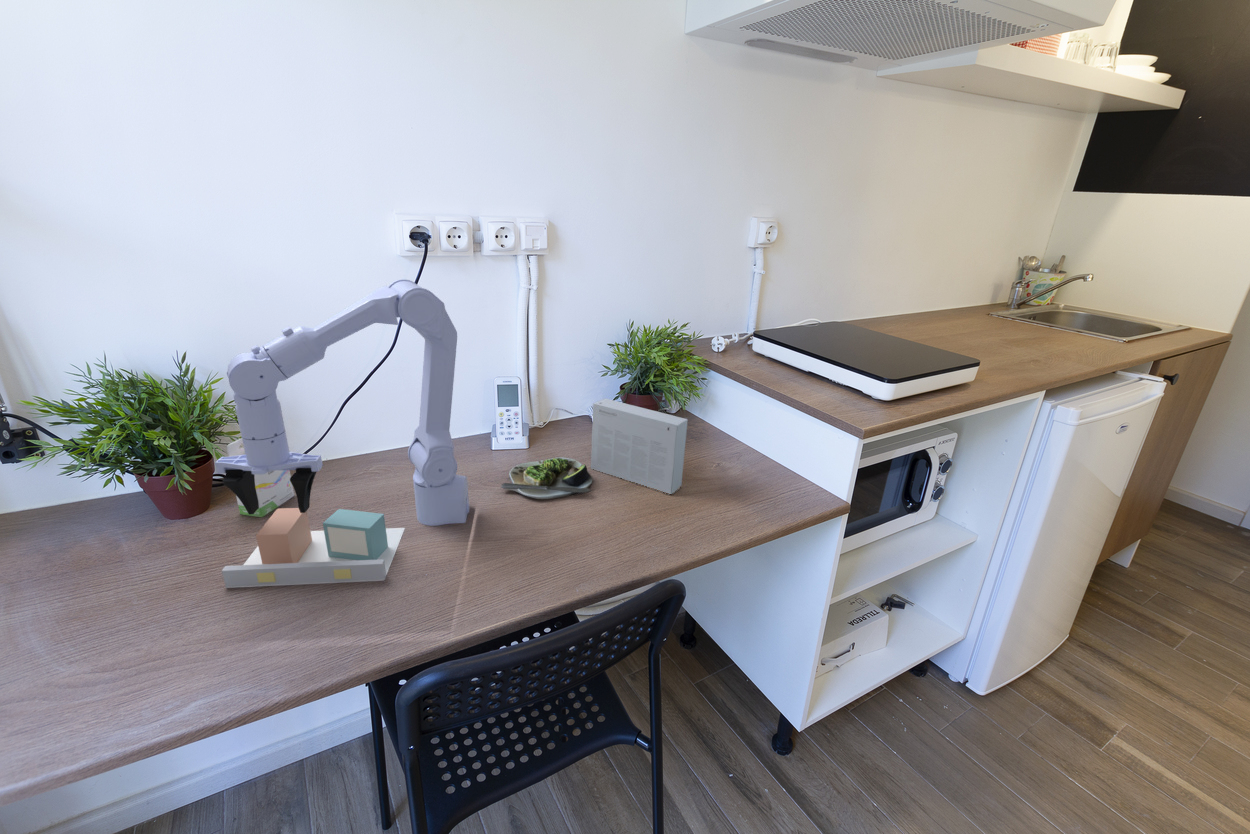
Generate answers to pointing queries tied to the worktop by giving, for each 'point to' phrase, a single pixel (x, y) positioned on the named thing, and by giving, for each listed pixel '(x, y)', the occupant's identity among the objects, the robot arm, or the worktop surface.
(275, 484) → the ink box
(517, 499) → the worktop surface
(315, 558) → the shelf board
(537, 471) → the salad plate
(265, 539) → the terracotta carton
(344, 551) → the teal carton
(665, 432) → the skincare box
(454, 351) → the robot arm
